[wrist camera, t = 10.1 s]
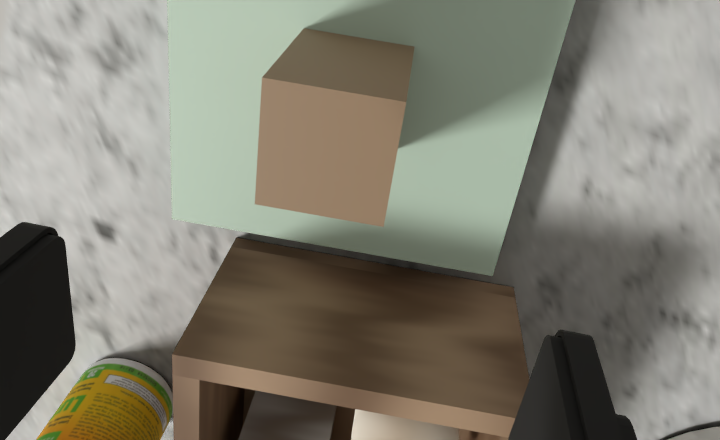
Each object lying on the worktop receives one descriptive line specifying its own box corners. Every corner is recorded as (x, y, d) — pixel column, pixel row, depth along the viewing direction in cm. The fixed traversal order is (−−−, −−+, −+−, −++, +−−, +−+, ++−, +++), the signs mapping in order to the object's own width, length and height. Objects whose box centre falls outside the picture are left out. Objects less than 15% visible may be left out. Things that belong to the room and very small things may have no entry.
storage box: (513, 287, 28) (536, 422, 22) (453, 470, 35) (456, 619, 28) (236, 237, 29) (172, 354, 22) (228, 428, 35) (176, 564, 28)
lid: (594, -89, 20) (660, -69, 14) (491, 263, 27) (505, 376, 21) (175, -156, 21) (65, -164, 15) (180, 208, 28) (107, 303, 22)
